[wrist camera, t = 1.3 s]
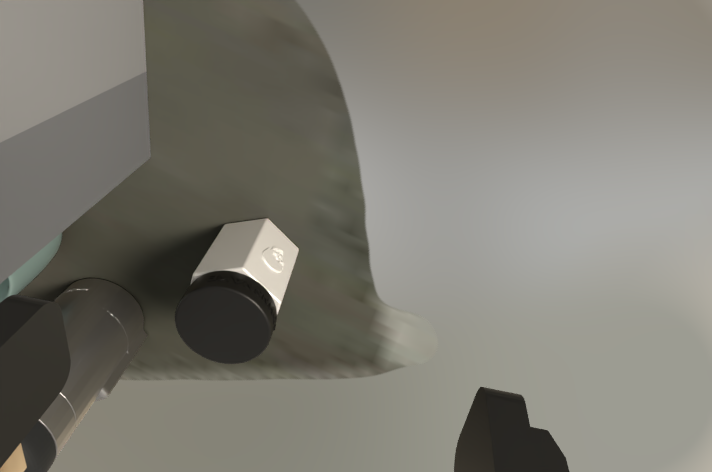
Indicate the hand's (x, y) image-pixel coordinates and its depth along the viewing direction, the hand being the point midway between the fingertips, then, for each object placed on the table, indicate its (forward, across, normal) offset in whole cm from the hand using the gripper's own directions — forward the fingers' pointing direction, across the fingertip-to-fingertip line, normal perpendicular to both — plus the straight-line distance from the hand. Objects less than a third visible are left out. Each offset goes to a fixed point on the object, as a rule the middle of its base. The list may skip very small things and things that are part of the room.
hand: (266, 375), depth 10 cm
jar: (+37, -10, -23) cm, 45 cm away
